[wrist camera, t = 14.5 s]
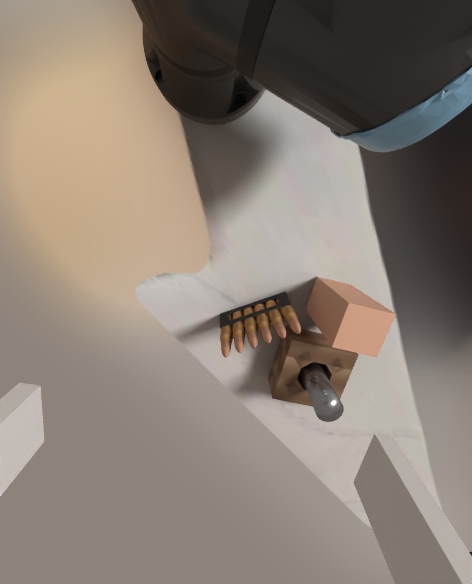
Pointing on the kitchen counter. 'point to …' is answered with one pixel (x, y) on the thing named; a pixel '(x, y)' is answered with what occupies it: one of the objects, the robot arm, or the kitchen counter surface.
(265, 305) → the ammunition clip
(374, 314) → the square peg
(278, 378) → the bore block
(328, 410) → the round peg
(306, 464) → the kitchen counter surface
